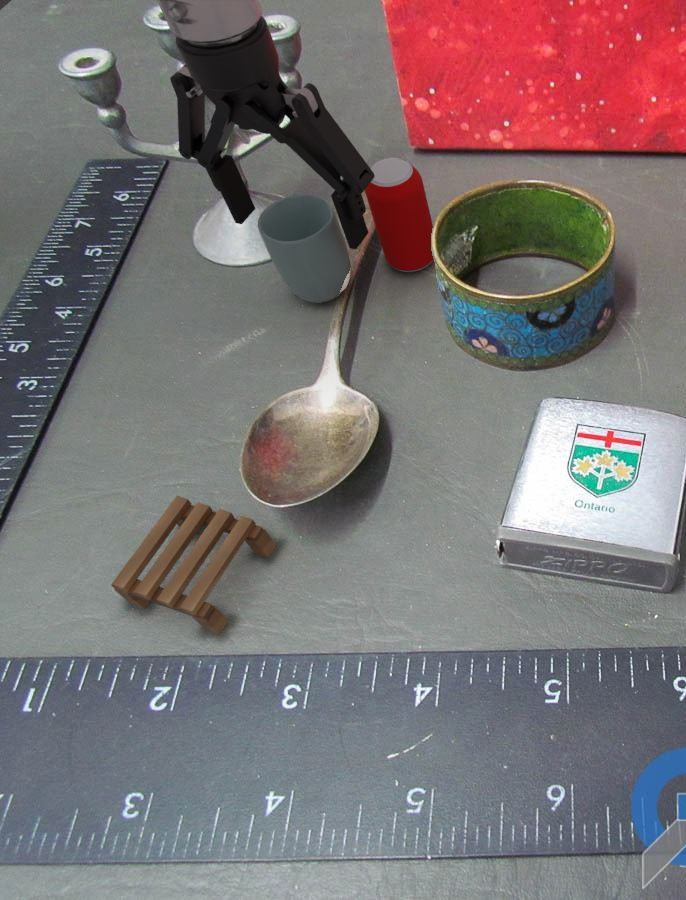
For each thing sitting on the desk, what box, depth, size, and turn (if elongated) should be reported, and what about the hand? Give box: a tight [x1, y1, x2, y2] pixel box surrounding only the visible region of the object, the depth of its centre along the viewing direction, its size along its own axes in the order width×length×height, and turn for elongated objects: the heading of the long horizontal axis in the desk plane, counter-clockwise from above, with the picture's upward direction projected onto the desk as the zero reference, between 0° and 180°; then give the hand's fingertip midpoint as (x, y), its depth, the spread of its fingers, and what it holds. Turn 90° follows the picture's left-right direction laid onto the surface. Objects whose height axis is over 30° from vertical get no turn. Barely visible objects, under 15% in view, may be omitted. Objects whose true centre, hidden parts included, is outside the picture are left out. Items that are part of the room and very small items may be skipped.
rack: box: [110, 495, 277, 636], centre depth 71 cm, size 9×9×4 cm
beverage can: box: [364, 157, 434, 273], centre depth 91 cm, size 6×6×12 cm
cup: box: [257, 193, 352, 304], centre depth 89 cm, size 8×8×10 cm
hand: (301, 228), depth 86 cm, fingers open, 13 cm apart
